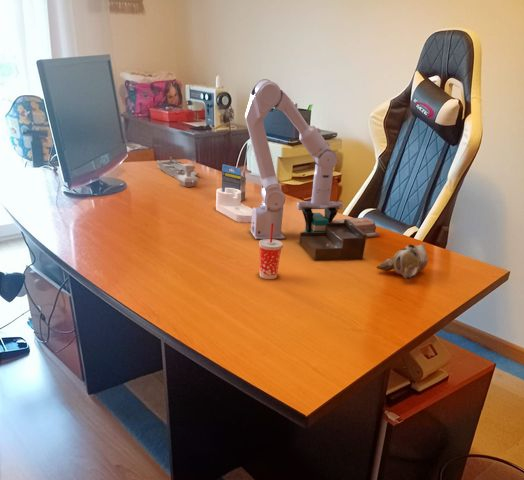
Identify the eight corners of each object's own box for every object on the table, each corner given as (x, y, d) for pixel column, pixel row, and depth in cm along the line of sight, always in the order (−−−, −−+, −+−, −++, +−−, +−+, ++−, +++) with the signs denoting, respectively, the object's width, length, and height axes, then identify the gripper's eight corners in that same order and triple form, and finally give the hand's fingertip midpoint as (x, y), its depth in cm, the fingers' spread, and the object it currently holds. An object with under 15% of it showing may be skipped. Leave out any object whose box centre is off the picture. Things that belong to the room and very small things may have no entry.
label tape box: (245, 199, 200) (247, 166, 193) (239, 201, 197) (241, 168, 190) (226, 195, 203) (228, 162, 197) (220, 197, 200) (221, 164, 194)
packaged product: (363, 214, 177) (381, 222, 170) (361, 227, 180) (378, 237, 172) (319, 217, 170) (335, 227, 162) (317, 232, 172) (333, 242, 165)
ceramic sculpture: (441, 243, 142) (412, 258, 133) (435, 273, 147) (406, 288, 138) (408, 233, 148) (377, 246, 139) (403, 261, 153) (373, 276, 144)
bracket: (211, 207, 188) (212, 188, 184) (232, 205, 192) (233, 186, 189) (240, 223, 174) (241, 203, 170) (262, 220, 178) (263, 201, 175)
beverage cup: (272, 282, 133) (276, 229, 126) (252, 276, 136) (255, 223, 129) (283, 275, 138) (289, 223, 131) (264, 269, 140) (268, 218, 133)
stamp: (200, 187, 211) (200, 166, 206) (186, 189, 207) (186, 167, 203) (189, 182, 217) (189, 161, 212) (175, 183, 213) (175, 162, 209)
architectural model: (178, 180, 219) (178, 167, 217) (153, 167, 236) (152, 155, 234) (202, 178, 225) (203, 165, 223) (176, 165, 242) (176, 154, 240)
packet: (312, 240, 164) (315, 220, 161) (304, 232, 171) (306, 212, 167) (326, 240, 165) (329, 220, 162) (317, 232, 172) (320, 212, 169)
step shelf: (314, 260, 149) (318, 235, 145) (299, 243, 161) (301, 219, 157) (362, 259, 153) (366, 234, 149) (343, 242, 165) (347, 219, 161)
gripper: (303, 192, 155) (299, 236, 162) (348, 191, 159) (342, 234, 166) (296, 186, 161) (292, 228, 168) (339, 186, 164) (334, 227, 171)
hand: (316, 231), depth 167 cm, fingers open, 5 cm apart
